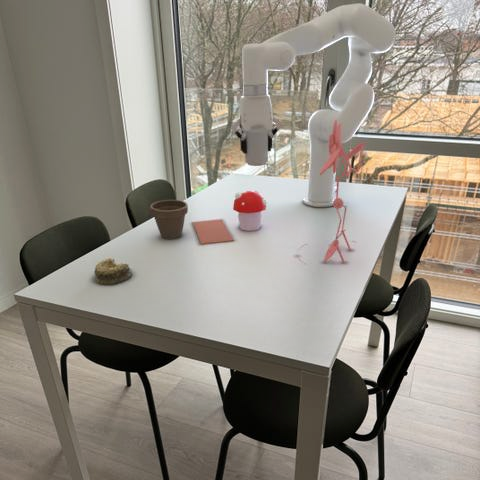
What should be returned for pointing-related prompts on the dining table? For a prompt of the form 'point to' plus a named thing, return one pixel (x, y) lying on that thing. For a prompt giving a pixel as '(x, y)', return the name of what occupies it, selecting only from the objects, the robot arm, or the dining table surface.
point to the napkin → (212, 231)
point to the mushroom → (249, 209)
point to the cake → (111, 272)
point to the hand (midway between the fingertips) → (256, 151)
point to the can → (257, 146)
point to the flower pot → (169, 217)
